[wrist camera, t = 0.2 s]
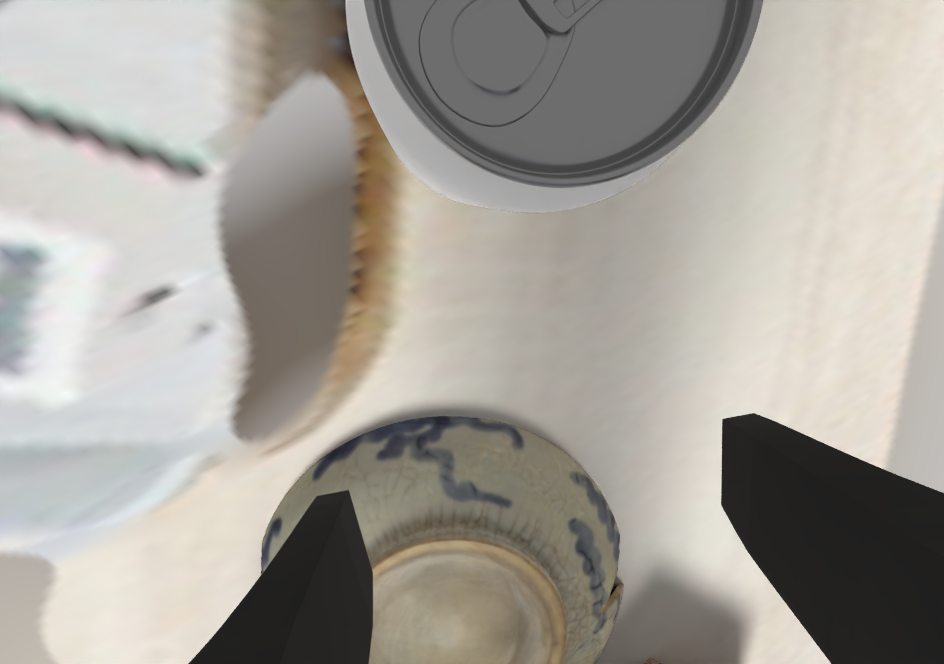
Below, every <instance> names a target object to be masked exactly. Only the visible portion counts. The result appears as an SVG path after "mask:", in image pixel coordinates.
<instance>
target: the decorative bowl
mask: <svg viewBox="0 0 944 664" xmlns="http://www.w3.org/2000/svg"><path fill="white" fill-rule="evenodd" d="M345 490H349V492H350V496H351V499H352V502H353V506H354V509H355V513H356V516H357V520H358V523H359V527H360V530H361V533H362V537H363V540H364V544H365V547H366V551H367V554H368V557H369V561H370V564H371V568H372V571H373V630H372V639H371V648H370V656H369V664H595V663H596V661H597V660H598V658H599V656H600V655H601V653H602V651H603V649H604V647H605V645H606V643H607V641H608V639H609V636H610V634H611V632H612V629H613V626H614V623H615V621H616V618H617V615H618V612H619V608H620V604H621V599H622V593H623V584H619V585H618V586H617V587H616V588H615V590H614V592H613V593H612V594H611V595H610V593H611V590H612V588H613V585H614V581H615V578H616V573H617V570H618V557H619V543H620V534H619V531H618V528H617V525H616V522H615V519H614V517H613V514H612V512H611V510H610V508H609V506H608V504H607V502H606V500H605V498H604V496H603V495H602V493H601V491H600V490H599V488H598V487H597V486H596V484H595V483H594V481H593V480H592V479H591V477H590V476H589V475H588V474H587V473H586V472H585V471H584V470H583V468H582V467H581V466H580V465H579V464H578V463H576V462H575V461H574V460H573V459H572V458H571V457H570V456H569V455H567V454H566V453H565V452H563V451H562V450H561V449H559V448H558V447H556V446H555V445H553V444H551V443H549V442H548V441H546V440H544V439H543V438H541V437H539V436H537V435H535V434H533V433H530V432H528V431H526V430H523V429H520V428H518V427H515V426H512V425H508V424H505V423H501V422H497V421H491V420H486V419H480V418H470V417H452V416H439V417H427V418H419V419H412V420H407V421H403V422H399V423H394V424H391V425H387V426H384V427H381V428H378V429H376V430H373V431H370V432H368V433H365V434H363V435H361V436H358V437H357V438H354V439H352V440H351V441H349V442H347V443H345V444H343V445H342V446H340V447H338V448H337V449H335V450H333V451H332V452H331V453H329V454H327V455H326V456H325V457H323V458H322V459H321V460H320V461H318V462H317V463H316V464H315V465H313V466H312V467H311V468H310V469H309V470H308V471H307V472H306V473H304V475H303V476H302V477H301V478H300V479H299V480H298V481H297V482H296V483H295V484H294V485H293V486H292V488H291V489H290V490H289V492H288V493H287V494H286V495H285V497H284V498H283V500H282V501H281V503H280V504H279V506H278V508H277V509H276V511H275V513H274V515H273V517H272V519H271V520H270V523H269V525H268V527H267V529H266V535H265V536H264V538H263V542H262V558H261V560H262V562H261V566H262V571H261V574H262V573H263V572H264V570H265V569H266V568H267V566H268V565H269V564H270V562H271V561H272V559H273V558H274V557H275V555H276V554H277V552H278V551H279V550H280V548H281V547H282V545H283V544H284V542H285V541H286V539H287V538H288V537H289V535H290V534H291V532H292V531H293V529H294V528H295V526H296V525H297V523H298V522H299V520H300V519H301V517H302V516H303V514H304V513H305V512H306V510H307V509H308V507H309V506H310V504H311V503H312V502H313V500H314V499H315V498H316V496H319V495H324V494H330V493H335V492H340V491H345Z"/></svg>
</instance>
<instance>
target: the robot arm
mask: <svg viewBox="0 0 944 664" xmlns="http://www.w3.org/2000/svg"><path fill="white" fill-rule="evenodd" d="M721 505H722V507H723V509H724V511H725V513H726V514H727V516H728V518H729V520H730V522H731V524H732V525H733V527H734V529H735V531H736V533H737V534H738V536H739V538H740V539H741V541H742V543H743V544H744V546H745V548H746V550H747V551H748V553H749V554H750V555H751V557H752V558H753V560H754V561H755V562H756V564H757V565H758V566H759V568H760V569H761V571H762V572H763V573H764V575H765V576H766V577H767V579H768V580H769V581H770V583H771V584H772V585H773V587H774V588H775V589H776V591H777V592H778V593H779V595H780V596H781V597H782V599H783V600H784V601H785V603H786V604H787V605H788V607H789V608H790V609H791V611H792V612H793V613H794V615H795V616H796V617H797V619H798V620H799V621H800V623H801V624H802V625H803V626H804V628H805V629H806V630H807V632H808V633H809V634H810V636H811V637H812V638H813V640H814V641H815V642H816V644H817V645H818V646H819V648H820V649H821V650H822V652H823V653H824V654H825V656H826V657H827V658H828V660H829V661H830V662H831V664H944V493H942V492H939V491H937V490H934V489H931V488H929V487H926V486H924V485H921V484H919V483H916V482H914V481H911V480H908V479H906V478H903V477H901V476H898V475H896V474H893V473H891V472H888V471H886V470H884V469H881V468H879V467H876V466H874V465H872V464H869V463H867V462H865V461H862V460H860V459H858V458H855V457H853V456H851V455H849V454H846V453H844V452H842V451H840V450H837V449H835V448H833V447H831V446H828V445H826V444H824V443H822V442H819V441H817V440H815V439H813V438H811V437H808V436H806V435H804V434H802V433H800V432H797V431H795V430H793V429H791V428H788V427H786V426H784V425H782V424H779V423H777V422H775V421H772V420H770V419H767V418H765V417H762V416H760V415H757V414H754V413H752V414H747V415H742V416H736V417H731V418H726V419H723V422H722V495H721ZM372 630H373V571H372V568H371V564H370V561H369V557H368V554H367V551H366V547H365V544H364V540H363V537H362V533H361V530H360V527H359V523H358V520H357V516H356V513H355V509H354V506H353V502H352V499H351V496H350V492H349V490H345V491H340V492H335V493H330V494H324V495H319V496H316V498H315V499H314V500H313V502H312V503H311V504H310V506H309V507H308V509H307V510H306V512H305V513H304V514H303V516H302V517H301V519H300V520H299V522H298V523H297V525H296V526H295V528H294V529H293V531H292V532H291V534H290V535H289V537H288V538H287V539H286V541H285V542H284V544H283V545H282V547H281V548H280V550H279V551H278V552H277V554H276V555H275V557H274V558H273V559H272V561H271V562H270V564H269V565H268V566H267V568H266V569H265V570H264V572H263V573H262V575H261V576H260V577H259V579H258V580H257V582H256V583H255V584H254V586H253V587H252V588H251V590H250V591H249V592H248V594H247V595H246V596H245V597H244V599H243V600H242V601H241V602H240V604H239V605H238V606H237V607H236V609H235V610H234V611H233V612H232V614H231V615H230V616H229V618H228V619H227V620H226V621H225V623H224V624H223V625H222V626H221V628H220V629H219V630H218V631H217V632H216V634H215V635H214V636H213V637H212V638H211V639H210V640H209V642H208V643H207V644H206V645H205V646H204V647H203V648H202V650H201V651H200V652H199V653H198V654H197V655H196V656H195V657H194V658H193V659H192V661H191V662H190V663H189V664H369V656H370V648H371V639H372Z"/></svg>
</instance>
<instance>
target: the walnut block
mask: <svg viewBox="0 0 944 664" xmlns="http://www.w3.org/2000/svg"><path fill="white" fill-rule="evenodd" d="M645 664H661V663H659V662H657V661H655V660H653V659H651V658H649V659H648V660H647V662H646V663H645Z"/></svg>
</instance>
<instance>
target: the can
mask: <svg viewBox="0 0 944 664" xmlns="http://www.w3.org/2000/svg"><path fill="white" fill-rule="evenodd" d="M762 3H763V0H346V19H347V28H348V36H349V42H350V47H351V51H352V56H353V59H354V63H355V67H356V70H357V73H358V76H359V79H360V81H361V84H362V87H363V90H364V92H365V95H366V97H367V99H368V102H369V104H370V106H371V108H372V110H373V112H374V114H375V116H376V118H377V120H378V122H379V124H380V126H381V128H382V130H383V132H384V133H385V135H386V137H387V139H388V141H389V142H390V144H391V146H392V148H393V150H394V151H395V153H396V154H397V156H398V157H399V159H400V160H401V162H402V163H403V164H404V165H405V167H406V168H407V169H408V170H409V171H410V172H411V173H412V174H413V175H414V176H415V177H416V178H417V179H418V180H420V181H421V182H422V183H423V184H425V185H426V186H427V187H429V188H430V189H432V190H433V191H435V192H437V193H438V194H440V195H442V196H444V197H446V198H448V199H451V200H454V201H457V202H460V203H464V204H468V205H473V206H478V207H484V208H490V209H496V210H503V211H512V212H523V213H543V212H557V211H564V210H570V209H575V208H579V207H583V206H586V205H590V204H593V203H596V202H599V201H601V200H604V199H607V198H609V197H611V196H614V195H616V194H618V193H620V192H622V191H624V190H626V189H628V188H629V187H631V186H633V185H634V184H636V183H638V182H639V181H641V180H642V179H644V178H645V177H647V176H648V175H649V174H651V173H652V172H653V171H654V170H656V169H657V168H658V167H659V166H660V165H662V164H663V163H664V162H665V161H666V160H667V159H668V158H669V157H670V156H671V155H672V154H673V153H674V152H675V151H676V150H677V149H678V148H679V147H680V146H681V144H682V143H683V142H684V141H685V140H687V139H688V138H689V137H690V136H691V135H692V134H693V133H694V132H695V131H696V130H697V129H698V128H699V127H700V126H701V125H702V124H703V123H704V122H705V121H706V120H707V119H708V117H709V116H710V115H711V114H712V113H713V111H714V110H715V109H716V108H717V106H718V105H719V104H720V102H721V101H722V99H723V98H724V97H725V95H726V93H727V92H728V90H729V89H730V87H731V86H732V84H733V82H734V80H735V79H736V77H737V75H738V73H739V71H740V69H741V67H742V65H743V63H744V61H745V58H746V56H747V54H748V51H749V49H750V46H751V44H752V41H753V38H754V35H755V32H756V28H757V25H758V21H759V17H760V13H761V8H762Z"/></svg>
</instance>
